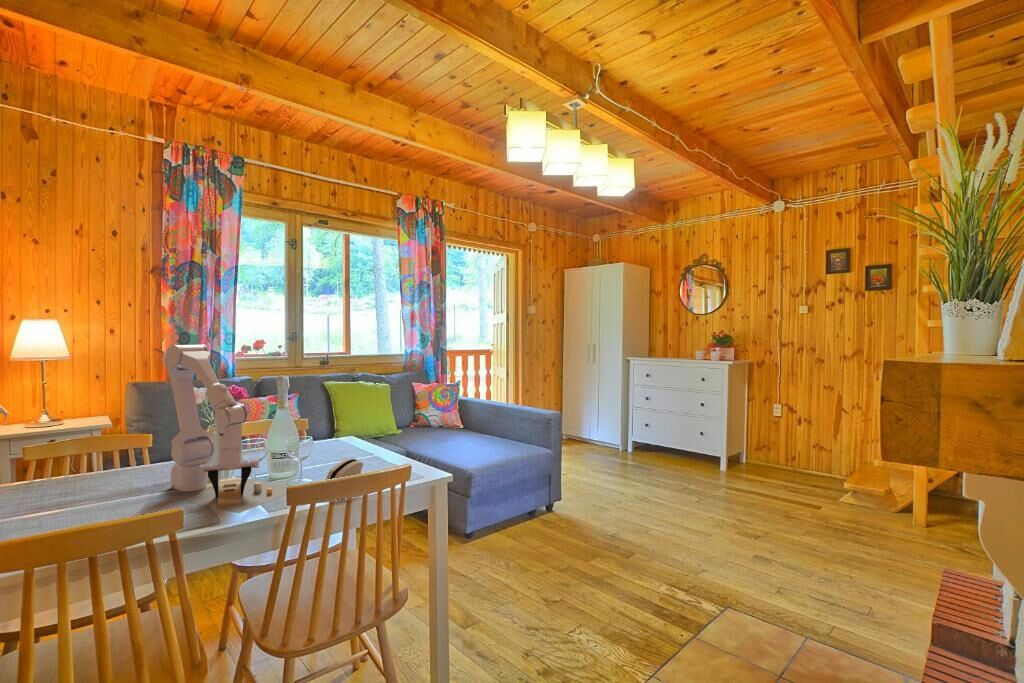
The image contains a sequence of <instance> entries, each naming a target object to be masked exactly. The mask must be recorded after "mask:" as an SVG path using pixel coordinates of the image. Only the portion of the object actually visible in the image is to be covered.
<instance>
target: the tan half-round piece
mask: <svg viewBox="0 0 1024 683" xmlns="http://www.w3.org/2000/svg"><path fill="white" fill-rule="evenodd" d="M363 466H364V463H363V462H362V461H361V460H358V459H356V458H352V457H351V458H345V459H343V460H342V461H340V462H338V463H336V464H335V465H334V466H333V467H332V468H331V469H330V470H329V471H328V473H327V476H326V478H325V480H327V479H332V478H339V477H345V476H351V475H356V474H360V475H361V472H362V469H363Z"/></svg>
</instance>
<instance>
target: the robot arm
mask: <svg viewBox="0 0 1024 683" xmlns="http://www.w3.org/2000/svg"><path fill="white" fill-rule="evenodd" d="M163 357H164V362H165V368H166V373H167V374H168V375H169V377H170V383H171V388H172V392H173V399H174V405H175V411H176V416H177V421H178V427H179V432H178V434H177V435H176V436H175V437H174V438H173V439H172V440H171V450H170V451H171V452H170V453H171V454H170V455H171V459H172V461H173V462H174V464H173V465H172V467H171V469H170V489H175V490H178V491H179V492H180V491H181V492H195V491H200V490H203V489H206V488H207V487H208V479H209V481H210V483H211V485H212V487H213V489H214V491H215V495H216V498H218V489H219V472H221V471H222V472H223V471H230V470H231V471H233V470H241V471H240V481H241V495H243V491H244V487H245V484H246V481H247V479H249V477H250V475H251V473H252V469H253V468H254V469H257V468H259V467H260V464H259V463H260V461H259V459H242V453H243V450H242V449H243V448H242V447H243V445H242V444H243V424H244V423H245V422H246V421H247V419H248V411H247V408H246V406H245V405H244V404H243V403H240V402H239V401H236V400H235V398H234V397H233V395H232V393H231V391H230V389H229V388H228V387H227V385H226V384H223V383H220V381H219V379H218V377H217V375H216V372H215V371H214V369H213V367H212V364H211V363H210V360H211V352H210V350H209V348H208V347H207V345H206V344H203V343H199V344H170V345H169V346H168V347H167V349H166V351H165V353H164V356H163ZM194 375H196V376H197V378H198V379H199V380H200V381H201V383H202V385H203V386H204V387H205V389H206V391H205V394H204V395H205V397H206V399H207V401H208V402H209V404H210V406H211V407H212V409H213V410H214V411H213V412H215V414H214V415H213V419H214V423H215V425H216V426H215V427H216V431H217V433H218V460H217V462H213V463H212V462H211V463H208V462H210V461H211V457H213V456H214V455H215V449H216V446H215V443H214V441H213V439H212V437H211V433H210V432H209V431H208V430H205V429H204V428H202V426H201V421H200V416H199V411H198V406H197V405H198V404H197V399H196V394H195V393H196V392H195V389H194V382H193V376H194Z"/></svg>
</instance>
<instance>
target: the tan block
mask: <svg viewBox="0 0 1024 683" xmlns="http://www.w3.org/2000/svg"><path fill="white" fill-rule="evenodd" d="M240 481H241V477H234V478H225V479H218V487H219V489H218V505H226V504H234V503H241V484H240Z"/></svg>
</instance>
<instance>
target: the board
mask: <svg viewBox="0 0 1024 683" xmlns="http://www.w3.org/2000/svg"><path fill="white" fill-rule="evenodd" d="M240 484H241V480H240ZM287 486H288V485H286V484H280V483H274V482H268V481H263V480H258V479H252V478H248V479H247V481H246V484H245V487H244V491H243V495H241V503H234V504H226V505H218V498H216V495H215V491H214V488H213V489H210V490H208V491H204V492H201V493H198V494H195V495H192V496H188V497H186V498H183V499H180V500H179V501H182V502H187V503H191V504H194V505H199V506H204V507H210V508H213V509H218V510H223V511H229V512H232V513H236V514H237V513H238V514H240V513H243V512H245V511H248V510H250V509H252V508H256V507H258V506H260V505H265V504H266V503H269V502H271V501H274V500H276V499H279V498H281V497H284V496H286V495H285V488H286V487H287Z"/></svg>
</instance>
